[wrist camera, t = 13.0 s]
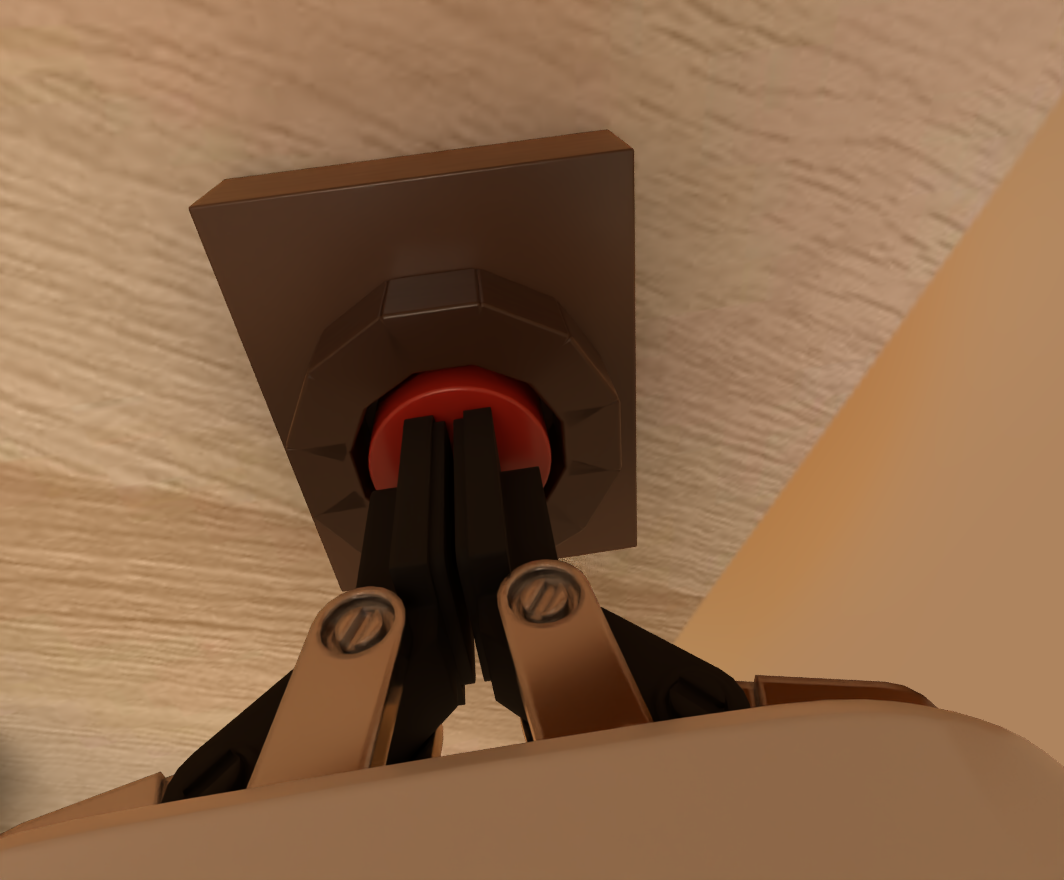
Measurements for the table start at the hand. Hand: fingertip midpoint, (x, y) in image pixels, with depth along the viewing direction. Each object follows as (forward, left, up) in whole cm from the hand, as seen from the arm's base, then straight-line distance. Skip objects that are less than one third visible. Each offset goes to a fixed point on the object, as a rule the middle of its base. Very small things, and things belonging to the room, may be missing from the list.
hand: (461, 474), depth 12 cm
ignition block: (0, 0, -4) cm, 4 cm away
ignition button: (0, 0, -2) cm, 2 cm away
